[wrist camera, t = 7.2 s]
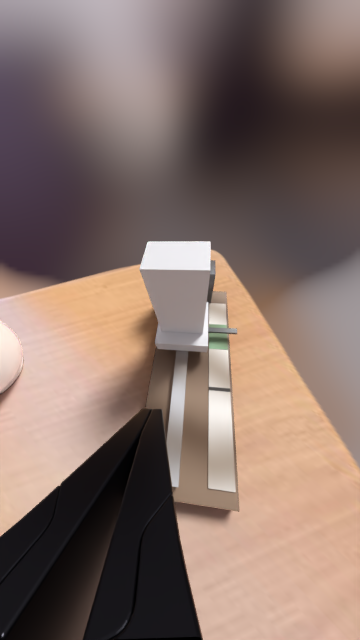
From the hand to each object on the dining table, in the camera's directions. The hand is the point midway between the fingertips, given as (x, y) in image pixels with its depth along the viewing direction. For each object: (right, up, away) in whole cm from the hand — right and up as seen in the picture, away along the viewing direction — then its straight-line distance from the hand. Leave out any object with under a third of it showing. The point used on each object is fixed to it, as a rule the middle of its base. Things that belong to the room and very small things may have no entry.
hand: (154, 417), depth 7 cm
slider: (+3, +3, +11) cm, 12 cm away
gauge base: (+2, -1, +11) cm, 12 cm away
